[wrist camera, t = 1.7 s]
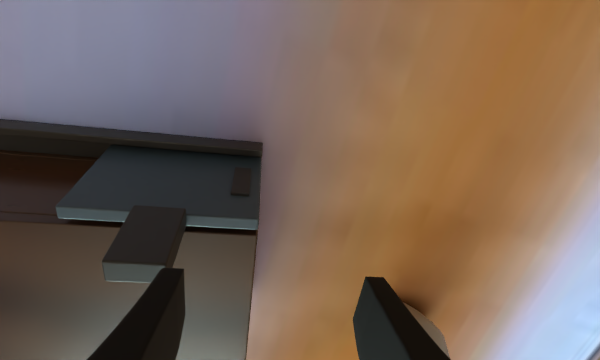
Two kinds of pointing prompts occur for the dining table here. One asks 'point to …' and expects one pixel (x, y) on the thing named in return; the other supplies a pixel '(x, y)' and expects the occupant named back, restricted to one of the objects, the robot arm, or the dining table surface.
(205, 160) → the door
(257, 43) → the dining table surface
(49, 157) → the cabinet
